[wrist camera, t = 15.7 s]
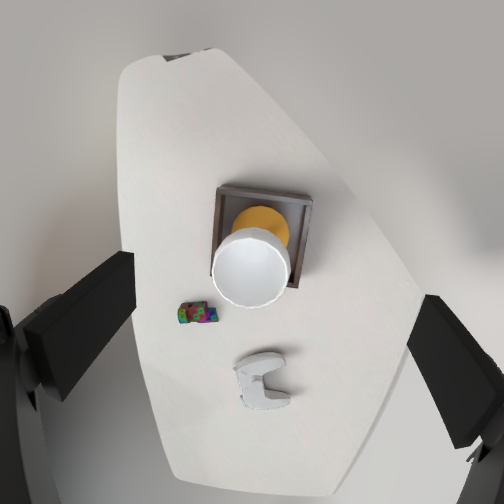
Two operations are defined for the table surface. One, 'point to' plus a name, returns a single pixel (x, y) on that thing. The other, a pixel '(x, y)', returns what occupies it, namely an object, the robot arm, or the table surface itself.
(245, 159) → the table surface
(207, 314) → the block
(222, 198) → the holder
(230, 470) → the table surface
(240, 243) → the cup
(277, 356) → the game controller
